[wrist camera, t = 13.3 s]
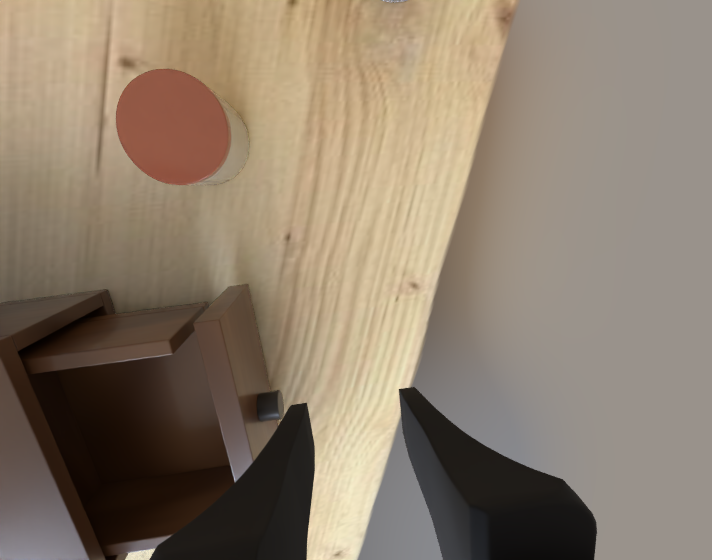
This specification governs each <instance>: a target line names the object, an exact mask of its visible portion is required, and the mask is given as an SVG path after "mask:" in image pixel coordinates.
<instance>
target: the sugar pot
mask: <svg viewBox="0 0 712 560" xmlns="http://www.w3.org/2000/svg"><path fill="white" fill-rule="evenodd" d="M116 126H117V132H118V136H119V139H120V142H121V144H122V146H123V148H124V150H125V152H126V153H127V155H128V156H129V158H130V159H131V160H132V161H133V163H134V164H135V165H136V166H137V167H138V168H139V169H141V170H142V171H143V172H144V173H146V174H147V175H149V176H150V177H152V178H154V179H156V180H158V181H161V182H164V183H168V184H172V185H216V184H221V183H224V182H227V181H229V180H231V179H232V178H233V177H235V176H236V175H237V174H238V173H239V172H240V171H241V169H242V168H243V166H244V165H245V162H246V160H247V157H248V153H249V136H248V132H247V129H246V126H245V124H244V122H243V120H242V118H241V117H240V115H239V114H238V113H237V111H236V110H235V109H234V108H233V107H232V106H231V105H229V104H228V103H227V102H226V101H224V100H223V99H222V98H221V97H220V96H218V95H217V94H216V93H215V92H213V91H212V90H211V89H210V88H208V87H207V86H206V85H205V84H203V83H202V82H201V81H199V80H198V79H196V78H195V77H193V76H191V75H189V74H187V73H184V72H182V71H178V70H173V69H156V70H151V71H148V72H145V73H143V74H141V75H139V76H137V77H136V78H135V79H133V80H132V81H131V82H130V83H129V84H128V85H127V87H126V88H125V89H124V91H123V93H122V95H121V97H120V99H119V102H118V105H117V111H116Z"/></svg>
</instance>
